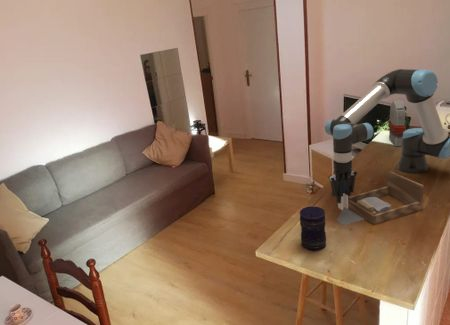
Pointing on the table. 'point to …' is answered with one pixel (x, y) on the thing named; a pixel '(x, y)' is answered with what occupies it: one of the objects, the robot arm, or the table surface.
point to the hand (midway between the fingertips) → (343, 207)
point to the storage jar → (313, 228)
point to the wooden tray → (397, 188)
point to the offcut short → (365, 205)
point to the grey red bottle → (397, 122)
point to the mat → (348, 217)
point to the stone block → (378, 204)
